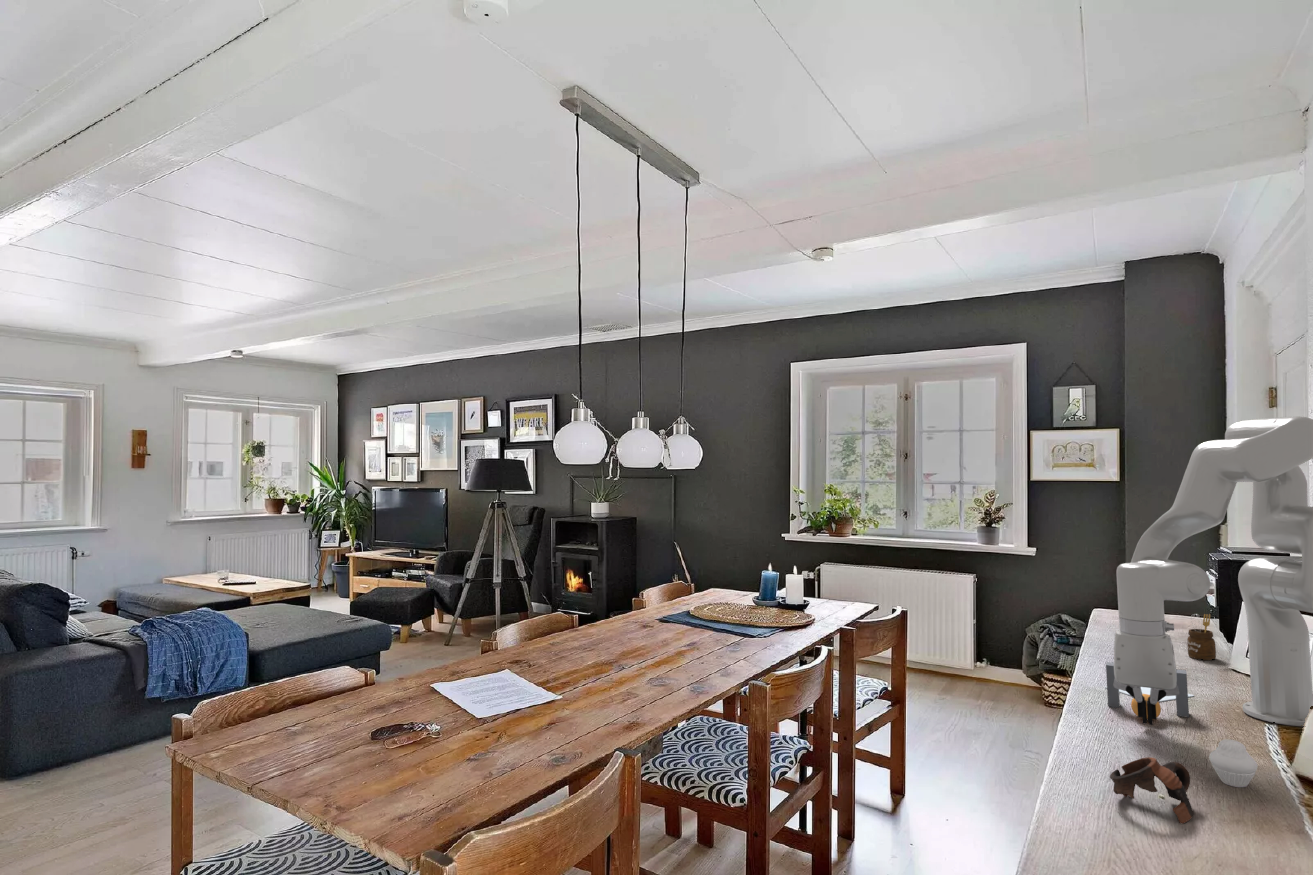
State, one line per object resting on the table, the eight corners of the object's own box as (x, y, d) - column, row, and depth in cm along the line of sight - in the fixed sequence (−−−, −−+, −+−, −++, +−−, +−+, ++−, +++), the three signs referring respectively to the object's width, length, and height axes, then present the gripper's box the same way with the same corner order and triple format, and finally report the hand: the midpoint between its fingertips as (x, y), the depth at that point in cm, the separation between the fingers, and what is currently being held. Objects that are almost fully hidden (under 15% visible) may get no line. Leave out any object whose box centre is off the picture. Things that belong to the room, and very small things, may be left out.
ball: (1143, 695, 145) (1143, 721, 145) (1166, 697, 146) (1167, 723, 145) (1125, 690, 150) (1125, 716, 150) (1147, 692, 151) (1148, 718, 150)
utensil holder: (1206, 655, 194) (1204, 609, 194) (1222, 661, 188) (1219, 614, 188) (1182, 655, 194) (1180, 609, 195) (1197, 661, 188) (1195, 614, 189)
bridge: (1108, 702, 158) (1106, 661, 159) (1188, 713, 151) (1186, 670, 151) (1108, 706, 156) (1105, 665, 156) (1189, 717, 148) (1186, 673, 148)
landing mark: (1143, 681, 172) (1143, 680, 172) (1194, 696, 161) (1194, 695, 161) (1104, 687, 169) (1104, 686, 169) (1153, 703, 157) (1153, 702, 157)
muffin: (1251, 795, 114) (1248, 749, 114) (1204, 782, 119) (1202, 738, 119) (1264, 784, 117) (1261, 740, 118) (1218, 772, 122) (1215, 729, 123)
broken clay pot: (1177, 835, 104) (1139, 777, 106) (1124, 837, 111) (1090, 782, 114) (1224, 796, 108) (1186, 741, 111) (1171, 800, 116) (1137, 749, 119)
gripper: (1188, 627, 142) (1194, 722, 141) (1098, 620, 150) (1103, 710, 150) (1190, 635, 136) (1196, 735, 135) (1096, 627, 144) (1101, 721, 143)
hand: (1147, 722), depth 142 cm, fingers closed
